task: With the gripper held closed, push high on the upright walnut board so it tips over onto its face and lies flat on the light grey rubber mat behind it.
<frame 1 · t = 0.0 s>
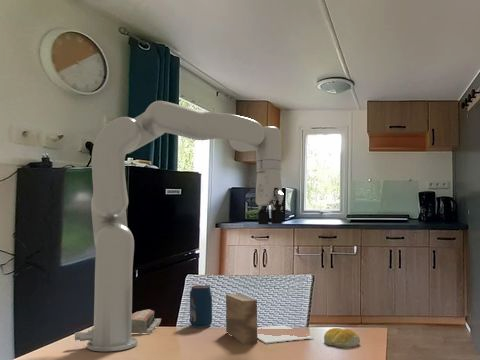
hand: (269, 224, 137), 31 cm above the table, tool pointing down, fingers open, 9 cm apart
soda can: (200, 326, 143), on the table
packaged product: (140, 330, 140), on the table
walnut board: (241, 338, 126), on the table
bread roll: (341, 345, 119), on the table
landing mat: (275, 334, 130), on the table
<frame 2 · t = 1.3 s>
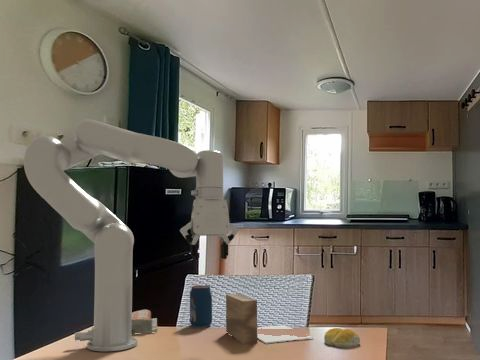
hand: (209, 258, 126), 22 cm above the table, tool pointing down, fingers open, 7 cm apart
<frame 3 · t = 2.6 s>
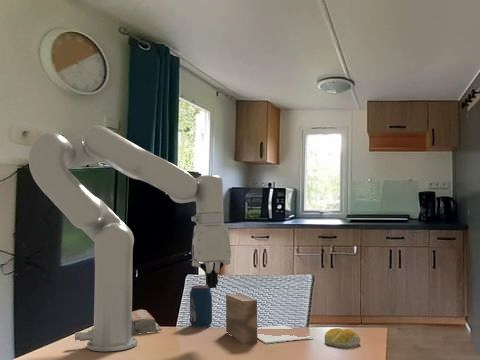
hand: (212, 287, 125), 14 cm above the table, tool pointing down, fingers closed
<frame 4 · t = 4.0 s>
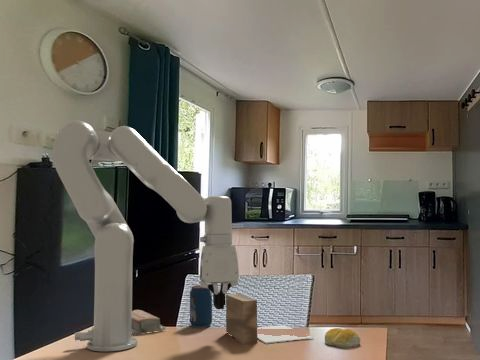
hand: (219, 308, 125), 8 cm above the table, tool pointing down, fingers closed
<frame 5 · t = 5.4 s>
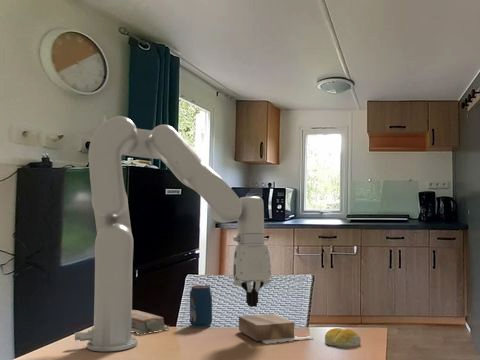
hand: (252, 305, 128), 8 cm above the table, tool pointing down, fingers closed
walnut board: (247, 328, 127), point 2 cm above the table, tilted 90°, touching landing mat
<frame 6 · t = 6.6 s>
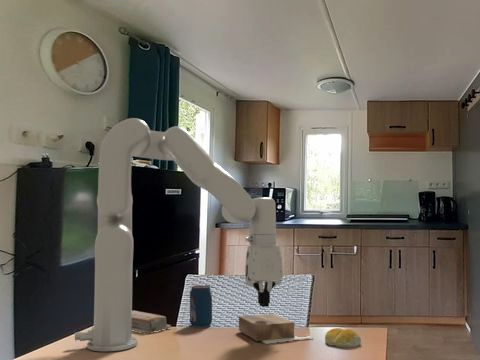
hand: (264, 305, 130), 8 cm above the table, tool pointing down, fingers closed
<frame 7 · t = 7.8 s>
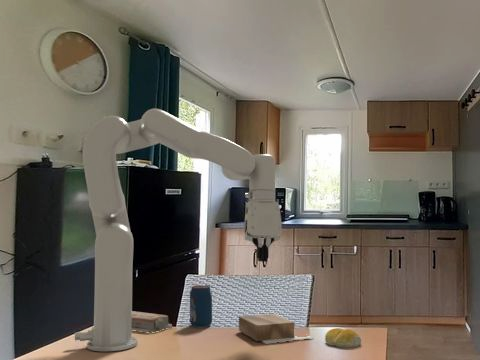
hand: (262, 261, 131), 21 cm above the table, tool pointing down, fingers closed
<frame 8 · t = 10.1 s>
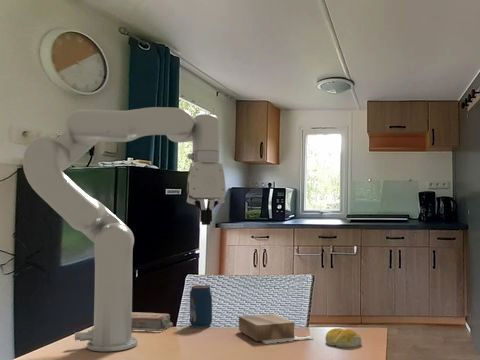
hand: (206, 224, 126), 31 cm above the table, tool pointing down, fingers closed
at the end: walnut board tilted 90°; walnut board inside the target area (3.6 cm from its centre), point 2.4 cm above the table; walnut board touching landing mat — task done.
